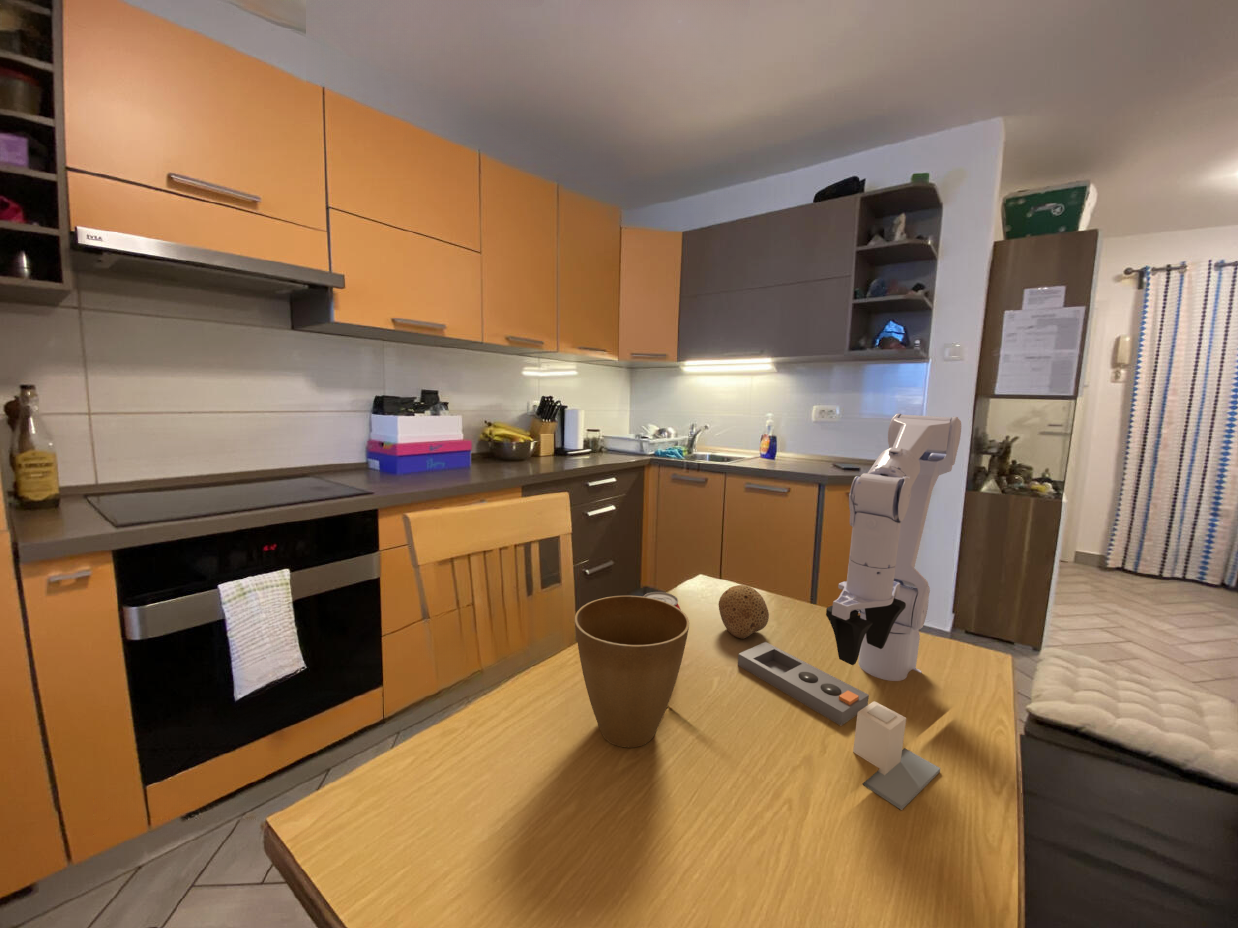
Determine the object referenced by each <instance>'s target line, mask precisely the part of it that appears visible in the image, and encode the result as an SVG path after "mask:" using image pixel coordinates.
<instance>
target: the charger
mask: <svg viewBox="0 0 1238 928" xmlns="http://www.w3.org/2000/svg"><path fill="white" fill-rule="evenodd" d="M855 722H856V723H855V724H856V725H855V733H854V742H853V751H852V753H854V754H855V755H858V756H859V757H860V758H862V759H864V760H865V761H867V762H868V763H870V764H872V765H873V766H875V767H876V768H878V770H877V771H879V772H880V773H882V774H883V775H885V774H887V773H888V772H889V771H890V770H891V769H892V768H894V767H895V766H896V765H897V764H898V763H900V762H901V755H902V750H903V745H904V739H905V731H906V724H907V717H905V716H903V715H902V714H900V713H898V712H896V711H894V710H893V709H890V708H888V707H886V706H885V705H882V704H880V703H879V702H877V701H875V700H874V701H872V702H871V703H868V705H867V706H866V707H864V708H863V709H861V710H860V711H858V714H857V715H856V721H855Z"/></svg>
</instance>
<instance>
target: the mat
mask: <svg viewBox="0 0 1238 928" xmlns="http://www.w3.org/2000/svg"><path fill="white" fill-rule="evenodd" d="M940 772H941V767H939V766H938V765H936V764H934V763H932V762H930V761H929V760H927V759H925V758H923V757H922V756H920V755H919V754H916V753H914V752H913V751H911V750H909V749H907V748H906V747H904V748H902V755H901V762H900V763H898V764H897V765H896V766H895V767H894V768H892V769H891V770H890V771H889V772H888V773H887V774H885V775H883V774H882V773H880V772H879V771H878V770H877V771H875V773H874V774H872V775H871V776H870V777H869V778H867V779H866V780H865V781H864V782H863V783H862V785H863V786H864V787H866V788H867V789H868V790H870V791H872V792H873V793H875V794H876V795H878V796H880V798H882V799H884V800H886V801H887V802H889V803H890V804H891V805H893V806H894V807H896V808H897V809H899V810H900V811H902V810H904V808H905V807H907V805H908V804H910V803H911V801H912V800H914V798H916V796H918V795H919V794H920V793H921V791H923V789H925V788H926V787H927V786H928V784H929V783H931V782H932V781H933V780H934V778H935V777H937V775H938V774H939V773H940Z"/></svg>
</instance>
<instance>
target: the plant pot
mask: <svg viewBox="0 0 1238 928" xmlns="http://www.w3.org/2000/svg"><path fill="white" fill-rule="evenodd" d="M680 609H681V608H680ZM680 609H679V608H677V607H676V606H674V605H672V604H669V603H667V602H664V601H661V600H657V599H654V598H648V597H643V596H641V595H614V596H607V597H603V598H599V599H595V600H592V601H589V602H587V603H586V604H584V605H582V606H581V607H580V608H579V609H578V610H577V611H576V613H575V615H574V625H575V633H576V641H577V648H578V649H577V650H578V653H579V655H578V656H579V659H580V665H581V670H582V674H583V676H582V677H583V680H584V683H585V688H586V692H587V696H588V700H589V702H590V705H591V708H592V711H593V715H594V717H595V719H596V720H595V721H596V723H597V725H598V728H599V731H600V732H601V735H602V737H603V738H604V739H605V740H606V741H607V742H608V743H610V744H612V745H614V746H617V747H621V748H637V747H641V746H644V745H647V743H649V742H651V740H652V739H653V738H654V736H655V734H656V732H657V731H658V729H659V726H660V724H661V722H662V720H663V718H664V715H665V713H666V711H667V707H668V705H669V703H670V700H671V698H672V694H673V691H674V688H675V686H676V683H677V679H678V675H679V672H680V669H681V665H682V660H683V657H684V653H685V647H686V644H687V638H688V634H689V629H690V620H689V617H688V616H687V614H686V613H685V612H684V611H683V610H682V609H681V610H680Z"/></svg>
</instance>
